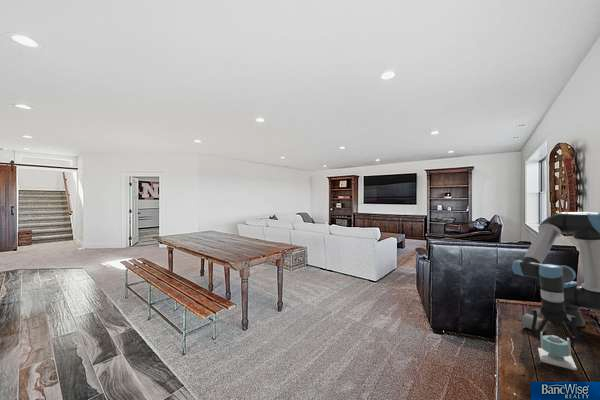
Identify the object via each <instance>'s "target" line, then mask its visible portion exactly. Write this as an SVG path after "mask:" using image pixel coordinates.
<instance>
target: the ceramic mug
mask: <svg viewBox="0 0 600 400" xmlns="http://www.w3.org/2000/svg"><path fill="white" fill-rule="evenodd" d="M533 316H534V315H532V314H530V313H525V314H523V316H522V318H521V324H522V326H523V328H525V329H529V330H531V331H533V330H532V329H531V326H532V321H533ZM542 320H543V318H540V317H537V321H536V327H535V328H538V326H539V325H540V323H541V321H542ZM546 330H547V323H546V324H545V326H544V328H543V329H542V331H541V332H542V334H543V333H545V332H546Z"/></svg>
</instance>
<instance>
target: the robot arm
mask: <svg viewBox="0 0 600 400" xmlns="http://www.w3.org/2000/svg"><path fill="white" fill-rule="evenodd" d="M537 229H538V232H537V234H536V235H535V237H534V239H533V241H532V242H531V244H530V246H529V247H528V249H527V251H526V253H525V255H524V256H523V257H522V259H521V260H520V259H516V260H514V261H513V262H512V265H511V269H512V272H513V273H514V274H515V275H517V276H518V275H519V276H522V277H529V278H533V279H538V280H539V285H540V286H539V287H540V289H539V290H540V303H541V307H540V308H539V309H538V308H535V307H534V308H532V313H533V315H532V316H533V321H532V326H531V329H532V330H531V329H530V330H531V331H533V332H535V333H536V339H537V340H538V341H540V348H542V349H543V336H544V335H543V333H542V332H541V331H542V329H543V328H544V326H545V324H546V325H547V323H548V322H549V321H551V322H553V323H556V324H559V325H561V327H562V329H563V330H564V332H565V333H566V335H567V337H566V341H567V342H568V350H569V356H572V351H571V349H574V348H575V341H577V342H580V341H581V338H580V335H579V332H578V329H577V328H580V327H581V328H583V327H585V326H586V322H585V319H584V318H583V316H582V312H581V311H580V308H582V309H587V310H589V311H590V310H591V311H595V312H598V313H600V212H594V211H574V212H573V211H570V212H568V211H564V212H563V211H562V212H558V213H554V214H552V215H550V216H547V218H545V219H543V221H542V222H541V223H540V224H539V226H538V228H537ZM562 234H573V238H574V239H575V240H576V241H577V242H578V247H579V253H580V260H581V267H582V268H581V269H582V274H583V281H584V282H582V283H580V285H579V282H577V281H574V280H575V279H576V277H577V274H576V271H575V270H574V269H573V268H572V267H570V266H567V265H557V264H550V263H548V264H547V263H543V262H544V261H545V259H546V257H547V256H548V253H549V252H550V250H551V248H552V246H553V245H554V243H555V241H556V239H557V238H558V237H560V236H561V235H562ZM540 313H541V314H542V315H543V318H542V321H541V323H540V325H539V326H538V328H535V327H536V321H537V318H538V315H540ZM569 327H571V328H572V330H573V334H574V335H572V333H571V331H570V330H569Z"/></svg>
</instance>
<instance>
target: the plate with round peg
mask: <svg viewBox="0 0 600 400" xmlns="http://www.w3.org/2000/svg"><path fill="white" fill-rule="evenodd" d="M560 338H561V337H559V336H556V335H553V334H552V335H551V334H550V341H552V342H556V343H560ZM537 351H538V355H539V358H540V359H539V360H540V362H542V363H545V364H549V365H553V366H557V367H562V368H564V369H568V370H573V371H576V372H578V371H577V370H578V368H577V366H576V364H575V361H574V358H573V357H572V355H571V356H566V357H560V356H557V355H553V354H550V353H548V352H546V351H545V350H543V349H542V348H541V347H537Z"/></svg>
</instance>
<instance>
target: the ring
mask: <svg viewBox="0 0 600 400" xmlns="http://www.w3.org/2000/svg"><path fill="white" fill-rule="evenodd" d="M550 335H551V334H550ZM550 335H543V350H545V351H546V352H548V353H550V354H553V355H557V356H560V357H566V356H569V350H568V342H567V340H565V339H563V338H561V337H559V338H560V343H556V342H552V341H550Z"/></svg>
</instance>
